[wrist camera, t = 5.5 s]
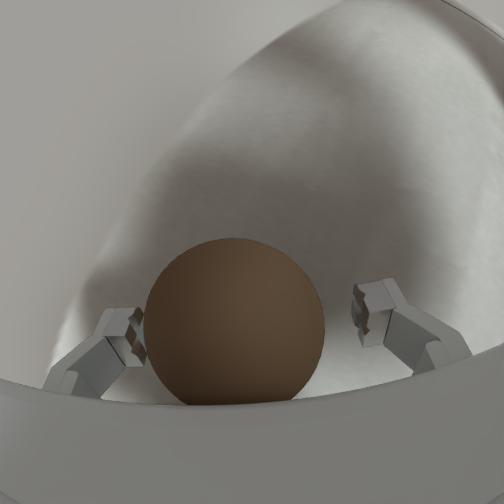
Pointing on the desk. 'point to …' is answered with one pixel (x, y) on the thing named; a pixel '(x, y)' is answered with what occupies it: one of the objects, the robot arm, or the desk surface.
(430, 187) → the desk surface
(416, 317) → the robot arm
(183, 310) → the pin
